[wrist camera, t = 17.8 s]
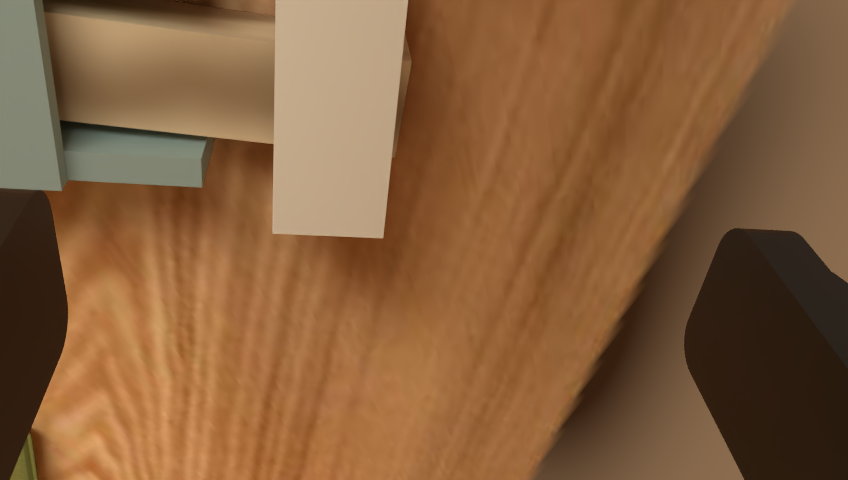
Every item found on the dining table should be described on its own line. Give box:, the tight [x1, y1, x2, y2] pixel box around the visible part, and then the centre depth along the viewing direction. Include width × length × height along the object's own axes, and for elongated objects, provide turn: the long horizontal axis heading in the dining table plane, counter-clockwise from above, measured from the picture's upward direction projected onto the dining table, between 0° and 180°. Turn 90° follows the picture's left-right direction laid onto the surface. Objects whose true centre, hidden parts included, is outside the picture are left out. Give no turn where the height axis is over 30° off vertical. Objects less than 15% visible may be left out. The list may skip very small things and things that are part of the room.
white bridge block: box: [272, 0, 408, 238], centre depth 36 cm, size 12×5×8 cm, turn 174°
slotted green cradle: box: [0, 0, 215, 191], centre depth 35 cm, size 11×12×6 cm
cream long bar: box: [42, 0, 412, 158], centre depth 38 cm, size 5×18×4 cm, turn 80°
